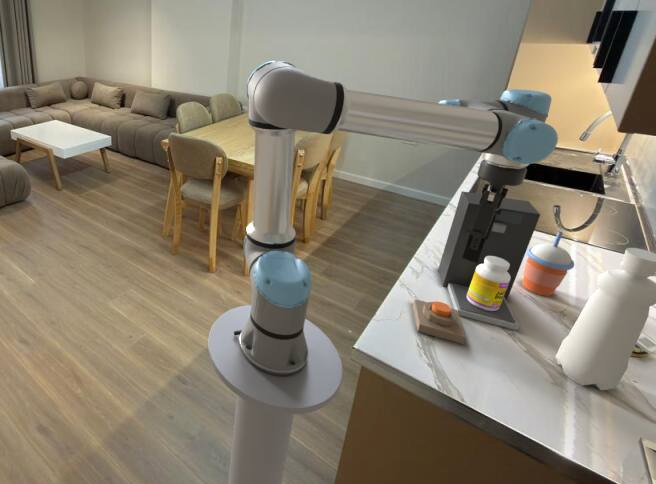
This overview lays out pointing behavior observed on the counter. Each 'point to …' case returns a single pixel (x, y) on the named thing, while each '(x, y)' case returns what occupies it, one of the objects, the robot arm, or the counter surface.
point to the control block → (438, 322)
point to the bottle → (610, 323)
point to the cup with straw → (546, 267)
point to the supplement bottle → (489, 283)
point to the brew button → (441, 309)
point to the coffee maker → (486, 253)
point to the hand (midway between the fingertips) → (475, 248)
